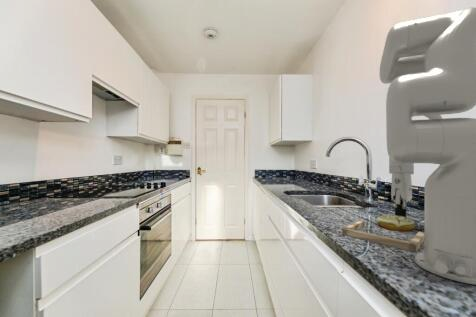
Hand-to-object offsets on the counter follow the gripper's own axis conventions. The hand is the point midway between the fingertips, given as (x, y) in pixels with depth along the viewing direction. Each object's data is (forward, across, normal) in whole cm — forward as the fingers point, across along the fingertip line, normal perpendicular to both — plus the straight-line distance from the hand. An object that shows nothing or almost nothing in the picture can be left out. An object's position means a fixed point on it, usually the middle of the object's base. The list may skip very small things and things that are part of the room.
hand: (400, 218), depth 84 cm
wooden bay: (+1, -23, 0) cm, 23 cm away
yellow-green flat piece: (+2, -8, 0) cm, 9 cm away
